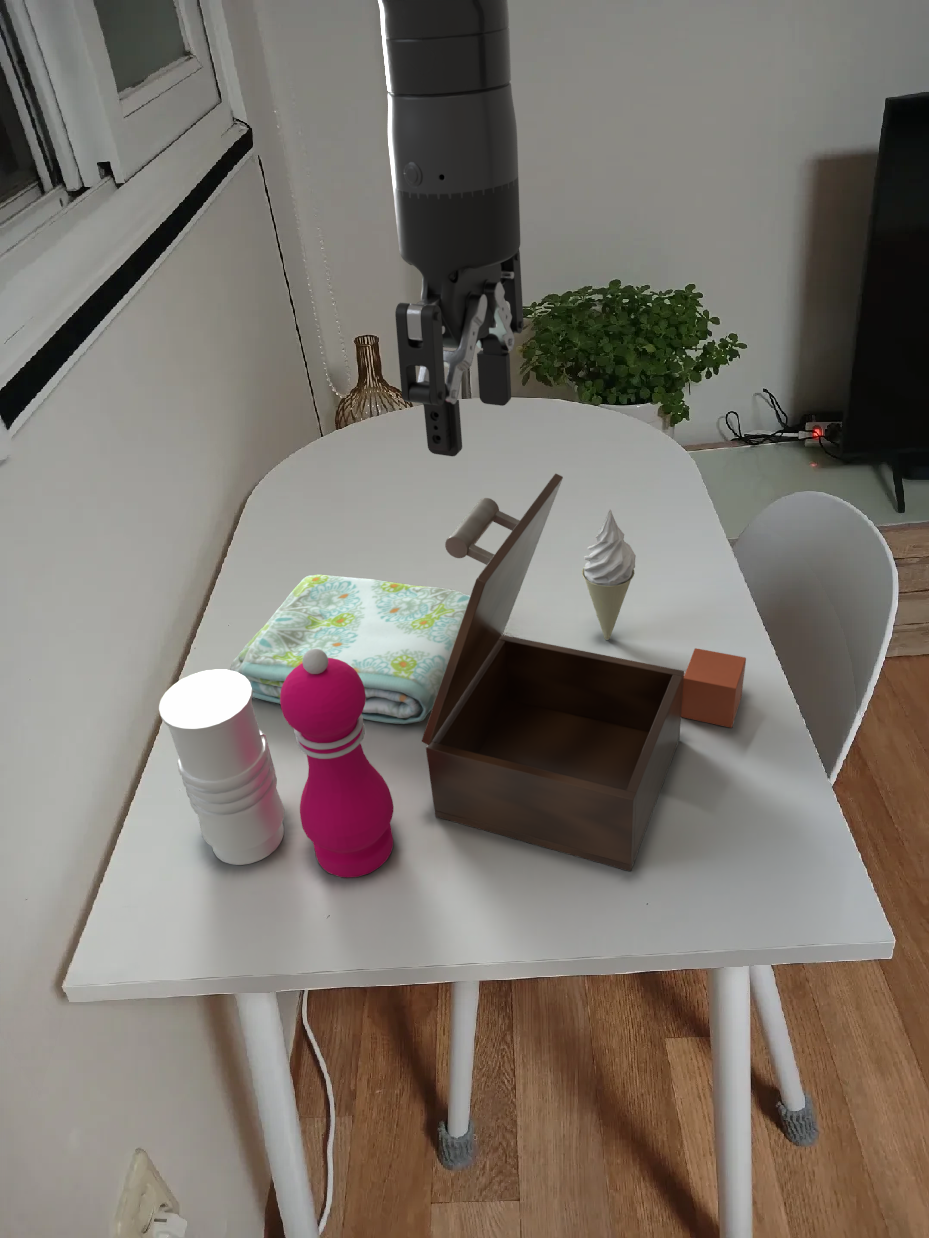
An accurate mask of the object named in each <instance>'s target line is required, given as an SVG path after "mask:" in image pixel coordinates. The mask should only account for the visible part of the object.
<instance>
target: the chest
mask: <svg viewBox="0 0 929 1238" xmlns="http://www.w3.org/2000/svg"><path fill="white" fill-rule="evenodd" d="M684 675H685V671H684V670H683V669H682V670H681V669H677V668H671V667H667V666H661V665H656V664H651V663H647V662H640V661H636V660H631V659H628V658H627V659H626V658H623V657H622V658H621V657H616V656H611V655H606V654H601V653H596V652H591V651H586V650H580V649H577V648H570V647H566V646H561V645H556V644H550V643H545V642H540V641H535V640H530V639H525V638H519V637H515V636H509V635H505V634H502V635H501V637H500V638H499V640H498V641H497V643H496V644H495V646H494V647H493V649H492V650H491V652H490V654H489V655H488V657H487V658H486V660H485V661H484V663H483V664H482V666H481V667H480V669H479V670H478V672H477V673H476V675H475V676H474V678H473V679H472V681H471V682H470V684H469V685H468V687H467V688H466V690H465V692H464V693H463V695H462V696H461V698H460V699H459V701H458V702H457V704H456V705H455V707H454V708H453V710H452V711H451V713H450V714H449V716H448V717H447V719H446V720H445V722H444V723H443V725H442V726H441V728H440V729H439V731H438V733H437V734H436V736H435V737H434V739H433V740H432V742H431V743H430V745H427V744H426V747H425V750H426V751H425V752H426V759H427V766H428V767H427V768H428V773H429V781H430V788H431V795H432V802H433V809H434V817H436V818H439V819H443V820H446V821H449V822H453V823H457V824H460V825H464V826H468V827H472V828H475V829H477V830H482V831H485V832H490V833H492V834H495V835H499V836H504V837H506V838H510V839H514V840H517V841H520V842H524V843H527V844H531V845H535V846H538V847H543V848H545V849H549V850H553V851H556V852H560V853H563V854H567V855H570V856H574V857H578V858H581V859H583V860H584V859H585V860H588V861H592V862H595V863H599V864H603V865H606V866H610V867H613V868H617V869H620V870H624V871H627V872H631V871H632V870H633V866H634V865H635V861H636V858H637V855H638V853H639V850H640V848H641V845H642V842H643V840H644V837H645V834H646V832H647V828H648V826H649V824H650V821H651V818H652V815H653V813H654V809H655V806H656V804H657V802H658V798H659V796H660V793H661V791H662V788H663V785H664V782H665V779H666V778H667V774H668V772H669V769H670V766H671V764H672V761H673V758H674V755H675V752H676V749H677V748H678V744H679V741H680V737H681V724H682V723H681V722H682V717H681V710H682V696H683V682H684Z"/></svg>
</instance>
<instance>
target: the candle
mask: <svg viewBox="0 0 929 1238" xmlns="http://www.w3.org/2000/svg"><path fill="white" fill-rule="evenodd" d="M252 695H253V691H252V688H251V685H250V682H249V680H248V679H247V678H246V677H245V676H244V675H242V674H240V673H238V672H235V671H231V670H230V669H224V668H222V669H220V668H214V669H206V670H201V671H199V672H195V673H192V674H189V675H188V676H186V677H183V678H181V679H180V680H178V681H177V682H175V683H174V684H173V685H171V686H170V687H169V688H168V689H167V690H166V691H165V692H164V694H163V696H162V697H161V698H160V701H159V705H158V710H159V715H160V718H161V720H162V722H163V723H164V724H165V726H167V727H168V730H169V733H170V735H171V738H172V742H173V744H174V747H175V750H176V753H177V756H178V759H177V768H178V773H179V775H180V776H181V781H182V785H183V786H184V788H185V793H186V795H187V796H186V797H187V798H188V800H189V804H190V806H191V809H192V810H193V812H194V813H195V814H196V815H197V818H198V822H199V823H198V824H199V827H200V833H201V837H202V838H203V840H204V841H205V842H206V844H208V845H209V846H211V847H212V851H213V853H214V855H215V856H216V857H217V859H219V860H220V861H222V862H223V863H225V864H230V865H236V866H242V865H243V866H245V865H251V864H253V863H256V862H259V861H261V860H263V859H265V858H266V857H269V856H270V855H271V854H272V853H273V852H274V851H275V850H276V849H277V848H278V847H279V846H280V844H281V843H282V840H283V838H284V833H285V827H284V824H283V821H284V819H285V808H284V805H283V801H282V799H281V796H280V794H279V791H278V789H277V788H278V787H277V786H278V785H277V784H278V778H277V775H276V770H275V767H274V766H275V765H274V762H273V759H272V755H271V751H270V746H269V743H268V739H267V735H266V734H265V732H263V731H262V730H261V729H260V728H259V724H258V720H257V716H256V712H255V710H254V709H255V708H254V705H253V702H252V701H253V697H252Z"/></svg>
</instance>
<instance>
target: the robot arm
mask: <svg viewBox="0 0 929 1238" xmlns="http://www.w3.org/2000/svg"><path fill="white" fill-rule="evenodd" d="M377 1H378V6H379V11H380V28H381V36H382V49H383V57H384V66H385V67H384V68H385V76H386V78H385V79H386V86H387V91H388V92H387V104H388V105H387V106H388V107H387V110H388V111H387V142H388V153H389V163H390V164H389V165H390V173H391V183H392V191H393V192H392V193H393V202H394V211H395V222H396V232H397V242H398V250H399V255H400V257H401V259H402V260H403V261H404V262H405V263H406V264H408V265H410V266H413V267H414V268H416V270H418V271H419V273H420V274H421V276H422V280H421V281H422V282H421V292H420V293H421V294H420V300H419V301H418V302H417V303H411V302H399V303H397V305H396V308H395V311H394V312H395V328H396V329H395V330H396V340H397V352H398V353H397V354H398V364H399V377H400V390H401V398H402V400H403V401H404V402H408V403H416V404H422V406H423V411H424V413H423V414H424V422H425V432H426V443H427V449H428V451H429V452H430V453H431V454H434V455H440V456H446V457H455V456H457V455H458V454H459V453H460V452H461V451H462V449H463V437H462V424H461V423H462V422H461V411H460V410H461V409H460V400H459V393H460V389H461V383H462V380H463V379H462V378H463V374H464V371H466V370H468V369H470V368H471V366H472V364H473V360H474V355H475V350H476V347H477V349H481V350H479V351H478V352H477V353H476V361H477V362H476V363H477V377H478V378H477V380H478V395H479V400H480V401H481V403H483V404H485V405H493V406H501V407H503V406H504V407H505V405H507V404H508V403H509V402H510V401H511V399H512V382H511V381H512V379H511V357H510V356H511V355H510V354H511V353H510V352H511V351H513V349H514V346H515V342H516V341H515V335H514V334H518V335H519V334H522V332H523V329H524V325H525V323H524V305H523V287H522V286H523V285H522V269H521V251H520V247H521V215H520V214H521V213H520V184H519V183H520V182H519V180H520V179H519V151H518V149H519V148H518V127H517V119H516V112H515V107H514V100H513V99H514V98H513V91H512V83H511V80H512V69H511V42H510V41H511V40H510V38H511V37H510V14H509V3H508V0H377ZM507 302H508V303H509V306H508V304H507ZM444 348H447V349H455V350H447V349H444ZM417 367H419V371H418V377H417ZM445 368H448V369H447V370H448V371H447V375H446V376H445ZM445 377H446V378H445Z"/></svg>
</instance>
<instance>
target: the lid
mask: <svg viewBox="0 0 929 1238" xmlns="http://www.w3.org/2000/svg"><path fill="white" fill-rule="evenodd" d="M563 479H564V478H563V476H562V475H561V474H558V473H554V474H553V476H552V477H551V478H550V480H549V481H548V482H547V484H546V485H545V486H544V488H543V489H542V490H541V492H540V493H539V494H538V496H537V498H536V499H534V501H533V502H532V504H531V505H530V506H529V508H528V509H527V511H526V512H525V513H524V515H523V516H522V517H521V518H520V520H519V519H517V518H515V517H513V516H511V515H509V514H507V513H505V512H504V511H501V510H500V508H499V505H498V503H497V502H496V501H495V500H493V499H492V498H489V497H483V498H481V499H479V500H478V502H477V503H476V504H475V505H473V507H472V509H471V510H470V511H469V512H468V513H467V515H466V516H465V517H464V518H463V520H462V521H460V523H459V524H458V525H457V527H456V528H455V529H454V530H452V533H450V535H449V536H448V537H447V538H446V539H445V542H444V546H445V547H444V548H445V550H446V551H447V553H448V554H449V555H450V556H451V557H453V558H455V559H463V558H465V557H466V556H467V557H470V558H471V559H474V560H476V561H477V562H480V563H482V564H484V565H485V567H484V568H483V569H482V571H481V572H480V573H479V574H478V575H477V577H476V579H475V581H474V584H473V588H472V591H471V593H470V595H471V596H470V599H469V602H468V605H467V608H466V611H465V614H464V617H463V620H462V623H461V626H460V629H459V632H458V634H457V637H456V640H455V643H454V646H453V649H452V652H451V655H450V658H449V661H448V664H447V667H446V670H445V673H444V676H443V679H442V682H441V685H440V688H439V691H438V694H437V697H436V699H435V702H434V705H433V708H432V710H431V711H430V715H429V718H428V720H427V723H426V726H425V729H424V732H423V735H422V739H421V743H423V744H425V745H426V746H427V745H430V743H431V742H432V740H433V739H434V737H435V736H436V734H437V733H438V731H439V729H440V728H441V726H442V725H443V723H444V722H445V720H446V719H447V717H448V716H449V714H450V713H451V711H452V710H453V708H454V707H455V705H456V704H457V702H458V701H459V699H460V698H461V696H462V695H463V693H464V692H465V690H466V688H467V687H468V685H469V684H470V682H471V681H472V679H473V678H474V676H475V675H476V673H477V672H478V670H479V669H480V667H481V666H482V664H483V663H484V661H485V660H486V658H487V657H488V655H489V654H490V652H491V650H492V649H493V647H494V646H495V644H496V643H497V641H498V640H499V638H500V637H501V635H504V632H505V630H506V627H507V624H508V622H509V620H510V616H511V614H512V611H513V610H514V609H513V608H514V606H515V604H516V601H517V598H518V596H519V594H520V591H521V588H522V585H523V583H524V581H525V577H526V575H527V572H528V570H529V567H530V566H531V565H530V564H531V563H532V560H533V557H534V555H535V552H536V549H537V547H538V544H539V541H540V539H541V537H542V534H543V531H544V529H545V526H546V523H547V520H548V518H549V516H550V513H551V511H552V508H553V506H554V502H555V500H556V497H557V495H558V492H559V488H560V487H561V485H562V482H563ZM493 523H495V524H497V525H499V526H502V528H504V529H505V528H506V529H507V530H509V531H511V532H510V533H509V534H508V535H507V537H506V538H505V540H504V542H503V543H502V544H501V545H500V547H499V548H498V549H497V550H496V552H495V554H494V553H492V552H490V551H488V550H486V549H484V548H482V547H480V546H478V545H476V544H477V543H478V541H479V540H480V539H481V538H482V536H483V535H484V534H485V533H486V531H487V530H488V529H489V528H490V526H491V525H492V524H493Z"/></svg>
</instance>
